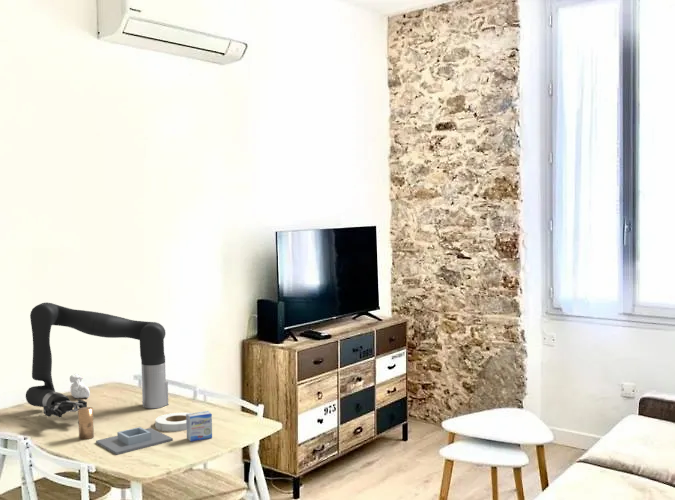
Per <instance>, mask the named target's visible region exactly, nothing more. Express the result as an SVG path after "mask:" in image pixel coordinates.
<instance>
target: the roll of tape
mask: <svg viewBox="0 0 675 500" xmlns="http://www.w3.org/2000/svg"><path fill="white" fill-rule="evenodd" d="M191 413H192V412H173V413H172V412H171V413H166V414H162V415H159V416H157V417H156V418H155V420H154V423H155V429H157V431H158V430H159V431H163V432H181V431H187V427H186V414H191Z"/></svg>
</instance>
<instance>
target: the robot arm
mask: <svg viewBox="0 0 675 500" xmlns="http://www.w3.org/2000/svg"><path fill="white" fill-rule="evenodd" d="M29 317H30V319H29V320H30V325H31V332H32V365H31V377H32V379H33V380H34V381H40V382H43V383H44V384H43V385H36V386H34V385H33V386H30V387H29V388H28V389H27V390H26V393H25V400H26V402H27V403H28V404H29V405H31V406H33V407H38V408H39V407H40V408H41V407H42V408H43V415H45V416H47V417H52V416H54V417H59V418H63V415H65V414H67V413H69V412H78V409H80V408H83V407H88V402H87V401H85V400H82V399H77V401H71V400H70V398H69V397H68V396H67V395H65V394H62V393H61V392H58V391H56V390H55V386H54V382H53V377H52V368H53V367H52V366H53V359H52V358H53V355H52V350H51V349H52V348H51V343H50V338H51V330H52V329H51V328H52V326H60V327H66V328H71V329H74V330H76V331H78V332H81V333H83V334H87V335H89V336H95V337H99V338H101V337H102V338H110V339H113V338H115V339H116V338H119V339H120V338H121V339H122V338H125V339H134V340H138V341H139V351H140V353H139V355H140V362H141V363H140V364H141V389H142V390H141V391H142V392H141V393H142V394H141V395H142V396H141V397H142V401H141V402H142V408H145V409H158V408H160V409H161V408H163V407H166V406H167V405H169V386H168V385H169V382H168V380H166V376H167V375H166V354H165V346H164V345H165V342H164V341H165V338H166V329H165V327H164V325H162V324H161V323H159V322H156V321H143V320H134V319H130V318H125V317H121V316H116V315H113V314H108V313H104V312H99V311H89V310H84V309H83V310H81V309H74V308H69V307H66V306H61V305H58V304H56V303H52V302H42V303H39V304H37V305H35V306H34V307H33V308H32V309H31V311H30V315H29Z"/></svg>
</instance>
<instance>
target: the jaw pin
mask: <svg viewBox="0 0 675 500" xmlns="http://www.w3.org/2000/svg"><path fill="white" fill-rule="evenodd" d="M77 413H78V415H77V416H78V417H77V418H78V439H79V440H80V441H81V440H82V441H85V440H91V439H94V437H95V433H94V431H95V430H94V408H93V407H92V406H87V407H83V408H80V409H78V411H77Z"/></svg>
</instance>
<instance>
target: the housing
mask: <svg viewBox="0 0 675 500" xmlns="http://www.w3.org/2000/svg"><path fill="white" fill-rule="evenodd" d="M116 433H117V434H116V435H114V436H110V437H107V438H101V439H97V440H95V443H96V445H99V446H100V447H102V448H104V449H106V450H107V451H109V452H111V453H113V454H114V455H116V456H118V455H122V454H125V453H130V452H133V451H137V450H142V449H145V448H146V449H147V448H149V447H153V446H157V445H161V444H165V443H169V442H173V441H174V439H173V438H172V437H170V436H169V435H167V434H165V433H162V432H160V431H158V430H156V429H153V428H152V427H148V428H143V427H142V426H138V427H135V428H129V429H124V430H121V431H117V432H116Z"/></svg>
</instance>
